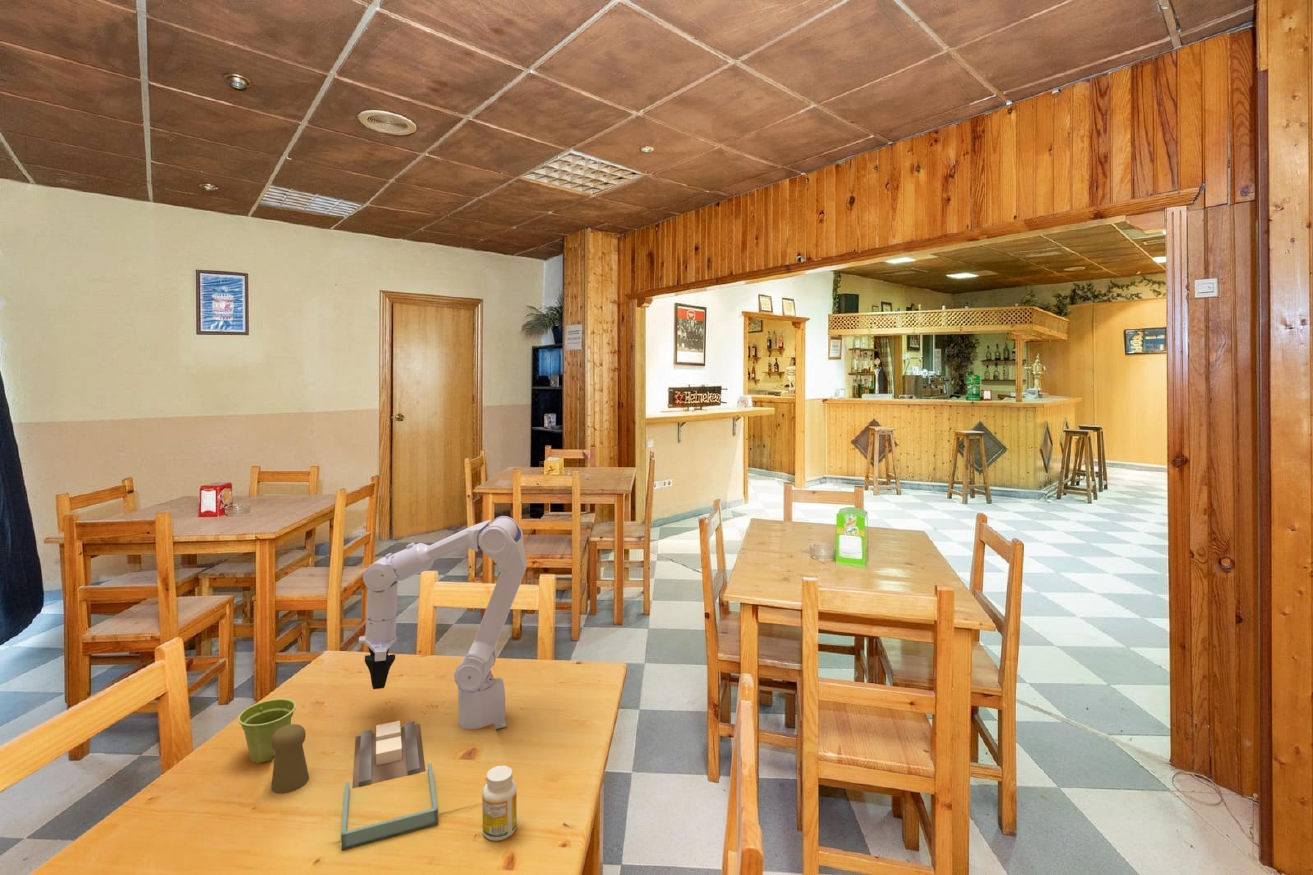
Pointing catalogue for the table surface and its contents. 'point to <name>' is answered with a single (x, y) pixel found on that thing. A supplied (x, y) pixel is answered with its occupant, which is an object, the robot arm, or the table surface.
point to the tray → (388, 822)
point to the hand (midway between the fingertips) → (378, 679)
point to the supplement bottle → (499, 804)
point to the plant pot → (265, 726)
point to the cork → (289, 759)
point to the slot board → (373, 773)
